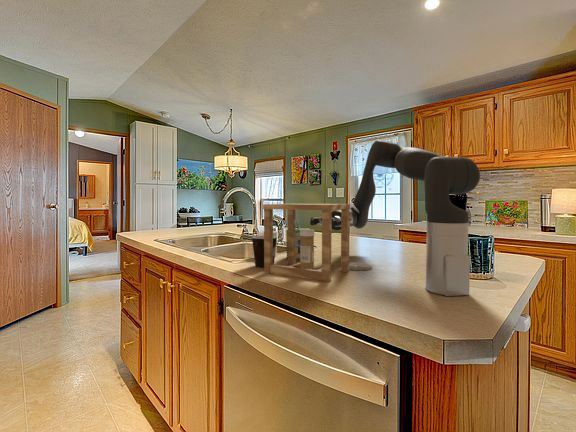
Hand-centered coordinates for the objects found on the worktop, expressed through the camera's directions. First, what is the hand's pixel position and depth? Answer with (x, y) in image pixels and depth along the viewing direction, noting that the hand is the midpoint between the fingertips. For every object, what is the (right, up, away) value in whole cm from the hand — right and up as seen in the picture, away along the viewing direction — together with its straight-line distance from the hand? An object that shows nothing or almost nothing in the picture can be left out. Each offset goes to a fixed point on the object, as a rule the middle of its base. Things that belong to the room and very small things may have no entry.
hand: (322, 222), depth 110 cm
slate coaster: (+11, -15, -2) cm, 19 cm away
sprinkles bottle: (-6, -16, -9) cm, 19 cm away
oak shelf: (-6, -15, -9) cm, 19 cm away
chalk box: (-7, -14, +15) cm, 22 cm away
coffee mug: (-21, -15, -1) cm, 26 cm away
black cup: (-20, -14, +19) cm, 31 cm away
